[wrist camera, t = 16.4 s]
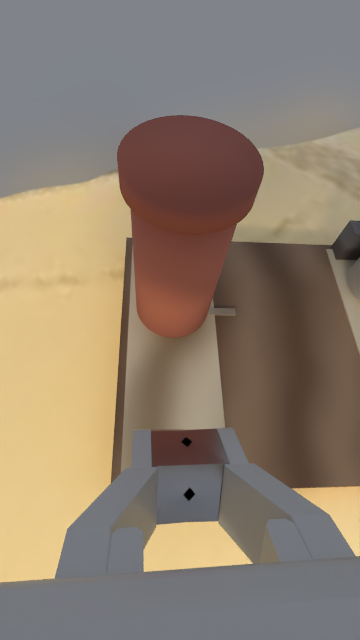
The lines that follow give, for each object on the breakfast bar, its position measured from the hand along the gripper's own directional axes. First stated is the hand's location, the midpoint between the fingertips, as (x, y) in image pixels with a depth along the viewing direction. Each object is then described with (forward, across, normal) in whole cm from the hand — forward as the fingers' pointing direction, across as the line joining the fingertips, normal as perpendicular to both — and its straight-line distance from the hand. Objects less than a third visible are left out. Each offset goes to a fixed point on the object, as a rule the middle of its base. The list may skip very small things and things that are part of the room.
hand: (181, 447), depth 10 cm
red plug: (+14, -1, -1) cm, 14 cm away
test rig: (+13, -9, +2) cm, 16 cm away
